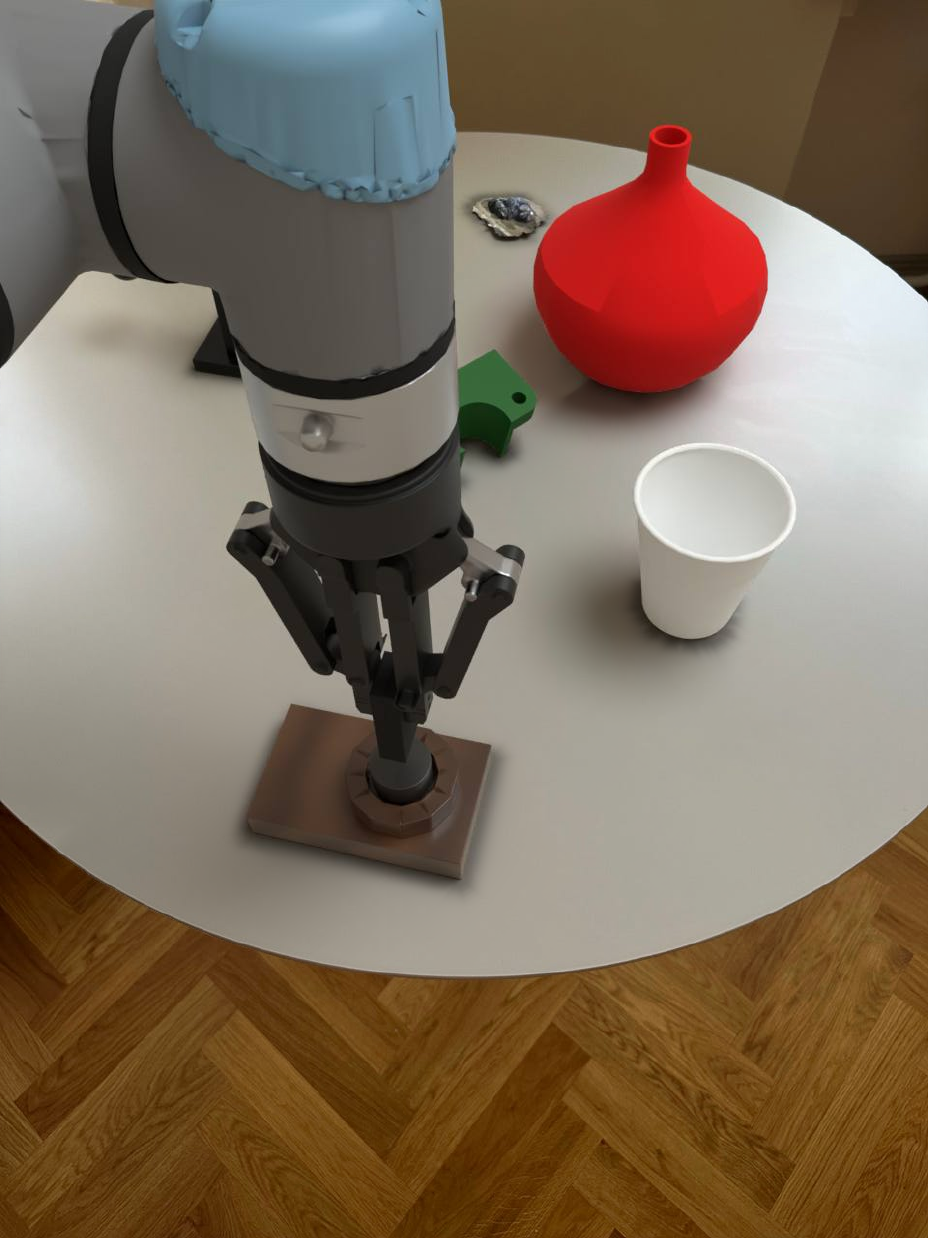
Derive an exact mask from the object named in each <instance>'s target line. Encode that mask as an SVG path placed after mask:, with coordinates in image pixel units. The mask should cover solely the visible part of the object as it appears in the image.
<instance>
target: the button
mask: <svg viewBox="0 0 928 1238" xmlns="http://www.w3.org/2000/svg"><path fill="white" fill-rule="evenodd" d="M369 768H370V774H371V780H372V784H373V787H374V789H375V790H376V792H377V793H378V794H379V795H380V796H381V797H383V798H384V799H386V800H388V801H391V802H395V803H407V802H411V801H414V800H416V799H418V798H419V797H421V796H422V795H423V794H424V793H425V792H426V791H427V790H428V789H429V787H430V785H431V782H432V778H433V770H432V757H431V753H430V751H429V749H428V747H427V746H426V745H425V744H424V743H423V742H422V741H421V740H419V739H418V738H416V737H414V739H413V742H412V745H411V748H410V752H409V755H408V758H407V761H406V763H402V762H397V761H392V760H388V759H383V758H380V756H379V750H378V744H377V745H376V746H375V748H374V749H373V751H372V753H371V755H370V759H369Z"/></svg>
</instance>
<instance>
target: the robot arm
mask: <svg viewBox="0 0 928 1238" xmlns="http://www.w3.org/2000/svg"><path fill="white" fill-rule="evenodd" d="M152 8H153V9H150V8H144V7H137V6H129V5H123V4H115V3H108V2H101V1H95V0H94V1H93V0H0V369H2V368H3V367H4V366H5V365H6V364H7V363H8V362H9V360H10V359H11V358H12V357H13V355H14V354H15V353H16V352H17V351H18V349H19V348H20V347H21V346H22V345H23V343H24V342H25V341H26V340H27V338H28V337H29V336H30V335H31V334H32V333H33V331H35V329H36V328H37V326H38V325H39V324H40V323H41V322H42V321H43V319H44V318H46V316H47V314H48V313H49V312H50V311H51V310H52V308H53V307H54V306H55V305H56V304H57V302H58V301H59V300H60V299H61V298H62V297H63V295H64V294H65V293H66V291H67V290H68V289H69V287H71V285H72V284H73V283H74V281H76V279H77V278H78V277H79V276H80V275H82V274H85V273H89V272H98V273H105V274H110V275H112V274H116V275H122V276H128V277H134V278H136V279H140V280H146V281H149V282H155V283H161V284H167V285H175V284H186V285H191V286H197V287H198V286H199V287H203V288H204V287H205V288H209V289H210V290H211V289H213V290H214V291H216V292H218V293H219V295H220V298H221V301H222V304H223V307H224V311H225V315H226V319H227V322H228V326H229V330H230V333H231V335H232V339H233V344H234V348H235V351H236V355H237V359H238V363H239V367H240V372H241V376H242V378H241V379H242V383H243V388H244V391H245V396H246V399H247V404H248V407H249V412H250V416H251V420H252V424H253V428H254V431H255V435H256V439H258V442H257V444H258V445H257V446H258V454H259V457H260V462H261V465H262V469H263V474H264V478H265V482H266V485H267V490H268V494H269V495H268V496H269V499H270V503H271V507H269V506H267V505H266V504H264V503H263V502H260V501H258V500H257V501H256V500H251V501H248V502H247V503H246V504H245V506H244V508H243V510H242V512H241V514H240V516H239V519H238V520H237V522H236V525H235V526H234V529H233V531H232V533H230V534H231V535H230V537H229V538H228V541H227V543H226V544H225V549H226V551H227V553H228V554H229V555H230V556H231V557H233V558H234V560H236V561H237V562H238V563H239V564H240V565H241V566H242V567H243V568H244V569H245V570H246V571H247V572H248V573H250V574H251V575H252V576H253V577H254V578H255V580H256V581H257V583H258V584H259V586H260V587H261V589H262V591H263V592H264V594H265V596H266V597H267V599H268V601H269V602H270V604H271V605H272V607H273V609H274V610H275V612H276V614H277V616H278V617H279V619H280V620H281V622H282V624H283V625H284V627H285V628H286V630H287V632H288V633H289V636H290V637H291V639H292V640H293V642H294V643H295V645H296V647H297V649H298V650H299V652H300V654H301V655H302V656H303V658H304V660H305V661H306V664H307V665H308V666H309V668H310V669H311V670H312V671H313V673H316V674H317V675H320V676H326V677H327V676H329V677H330V676H332V675H333V674H334V672H336V673H339V674H341V675H343V676H344V677H345V680H346V683H347V684H348V685H349V686H350V687H351V690H352V695H353V699H354V705H355V708H356V710H357V711H358V712H359V713H360V714H364V715H369V716H372V720H373V721H374V726H375V732H376V738H377V744H378V750H379V756H380V758H383V759H388V760H392V761H397V762H402V763H406V761H407V758H408V755H409V752H410V748H411V745H412V742H413V739H414V735H415V732H416V729H417V726H419V725H425V723H426V722H427V721H428V717H429V713H430V711H431V707H432V704H433V701H434V695H435V696H436V697H439V698H440V699H443V700H451V699H455V697H456V696H457V694H458V692H459V690H460V688H461V686H462V683H463V681H464V679H465V676H466V674H467V672H468V670H469V668H470V665H471V662H472V661H473V658H474V656H475V654H476V651H477V649H478V647H479V644H480V643H481V640H482V638H483V636H484V632H485V631H486V628H487V626H488V625H489V621H490V620H492V619H493V618H494V617H496V616H497V615H499V614H500V613H502V612H503V611H504V610H506V609H507V608H508V607H510V606H511V605H512V604H513V602H514V601H515V596H516V592H517V588H518V585H519V582H520V578H521V574H522V570H523V566H524V563H525V559H526V553H525V552H524V550H523V549H522V548H520V547H519V546H517V545H515V544H509V543H508V544H502V545H501V546H499V547H498V548H497V549H495V550H494V549H492V548H491V547H489V546H488V545H486V544H484V543H483V542H481V541H479V539H476V538H475V537H474V535H475V529H474V524H473V521H472V520H471V518H470V517H469V515H467V513H466V511H465V510H464V508H463V504H462V481H461V480H462V479H461V477H462V476H461V469H460V447H461V442H460V441H461V439H460V434H459V422H458V419H457V417H458V412H459V389H458V369H459V367H458V343H457V341H458V340H457V321H456V319H457V318H456V300H455V228H454V227H455V221H454V220H455V218H454V217H455V215H454V214H455V213H454V212H455V211H454V208H455V207H454V206H455V205H454V202H455V201H454V197H455V196H454V156H455V153H456V152H457V146H458V143H457V128H456V126H455V125H456V117H455V114H454V111H453V109H452V106H451V99H450V88H449V87H450V86H449V76H448V65H447V53H446V40H445V29H444V28H445V27H444V20H443V19H444V17H443V8H442V1H441V0H152ZM458 568H460V569H461V570H462V575H461V578H460V584H461V586H462V587H463V588H464V589H465V590H464V594H463V599H462V602H461V604H460V607H459V610H458V612H457V615H456V617H455V620H454V623H453V625H452V628H451V630H450V633H449V634H448V635H449V636H448V638H447V640H446V643H445V646H444V648H443V652H434V649H433V637H432V636H433V634H432V623H431V622H432V621H431V610H430V609H431V608H430V596H429V590H430V589H432V588H433V587H434V586H436V585H437V584H438V583H439V582H441V581H442V580H443V579H445V578H446V577H448V575H450V574H451V573H453V572H454V571H455V570H457V569H458ZM378 596H379V597H380V605H381V612H382V619H384V620H387V625H388V633H389V639H390V646H391V647H390V648H391V651H388V650H383V649H384V645H385V643H386V641H387V638H388V633H384V636H383V632H382V625H381V618H380V612H379V604H378V603H379V602H378ZM382 652H383V653H382ZM381 655H382V656H381Z"/></svg>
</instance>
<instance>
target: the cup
mask: <svg viewBox="0 0 928 1238" xmlns="http://www.w3.org/2000/svg"><path fill="white" fill-rule="evenodd" d="M632 504H633V508H634V511H635V514H636V517H637V535H638V551H639V568H640V569H639V571H640V590H641V592H640V593H641V606H642V608H643V611H644V613H645V615H646V617H647V618H648V620H649V621H650V623H652V624H653V625H654V626H655V627H656V628H658V629H659V630H660V631H662V632H664V633H666V635H667V634H668V635H670V636H673V637H675V638H681V639H687V640H695V639H696V640H697V639H704V638H707V637H710V636H713V635H714V634H716V633H718V632H719V631H720V630H722V629H723V628H724V627H725V626H726V625H727V623H728V621H729V620H730V619H731V617H732V616H733V614H734V613H735V612H736V610H737V608H738V607H739V605H740V603H741V601H742V600H743V599H744V597H745V595H746V594H747V593H748V592H749V590H750V589H751V587H752V585H753V584H754V582H755V581H756V579H757V577H758V576H759V575H760V573H761V572H762V570H763V568H764V567H765V566H766V565H767V563H768V562H769V560H770V558H771V557H772V556H773V554H774V553H775V551H776V549H778V548H779V547H780V546H781V545H783V544H784V542H785V541H786V540H787V539H788V537H789V536H790V535H791V533H792V531H793V528H794V526H795V523H796V519H797V503H796V497H795V495H794V493H793V491H792V488H791V486H790V484H789V483H788V481H787V480H786V478H785V477H784V476H783V474H781V472H779V471H778V470H777V469H776V468H775V467H774V465H772V464H771V463H769V462H768V461H766V459H764V458H762V457H760V456H759V455H757V454H754V453H752V452H750V451H748V450H746V449H742V448H740V447H737V446H734V445H729V444H724V443H717V442H694V443H693V442H692V443H685V444H682V445H677V446H674V447H671V448H669V449H666V450H664V451H662V452H660V453H658V454H657V455H655V456H654V457H653V458H651V459H650V460H649V461H647V463H646V464H644V466H643V467H642V468H641V469H640V471H639V473H638V475H637V477H636V479H635V480H634V486H633V489H632Z"/></svg>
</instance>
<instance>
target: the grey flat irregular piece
mask: <svg viewBox="0 0 928 1238" xmlns="http://www.w3.org/2000/svg"><path fill="white" fill-rule="evenodd" d="M471 211H472V212H475V213H476V214H477V216H478V218H479V217H480V218H481V220H483V221H485V220H487V225H488V226H489V227H492V228H493V231H494V234H497V235H498V236H499V237H505V238H508V237H510V238H511V237H521V236H522V235H523V233H524V234H531V233H532V232H533V231H534V230H535V227H537V228H539V227H540V225H541V222H543V221H547V220H548V219H551V217H550V215H549V214H547V211H546V210H545V209H544V207H542V206H541V205H540V204H537V202H533V201H532V200H531V199H528V198H524V197H520V196H519V197H518V196H507V197H504V198H503V197H486V198H485V197H484V198H482V199H480V200H479V201H477V202H475V205H473V206H472V210H471Z"/></svg>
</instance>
